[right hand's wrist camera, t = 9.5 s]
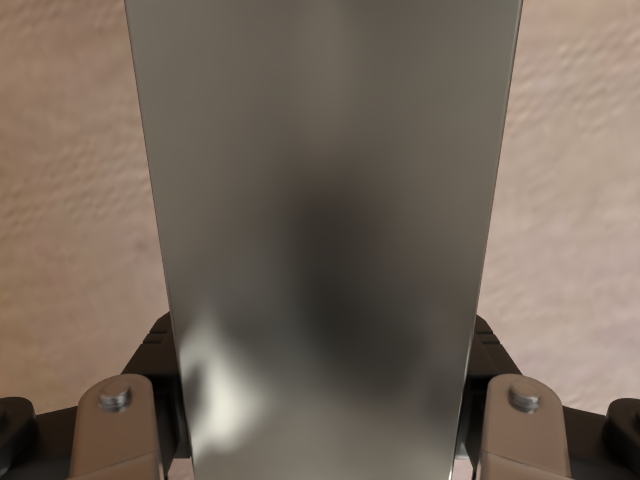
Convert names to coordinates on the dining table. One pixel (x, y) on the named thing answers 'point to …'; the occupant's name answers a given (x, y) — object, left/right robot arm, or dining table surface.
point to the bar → (323, 222)
